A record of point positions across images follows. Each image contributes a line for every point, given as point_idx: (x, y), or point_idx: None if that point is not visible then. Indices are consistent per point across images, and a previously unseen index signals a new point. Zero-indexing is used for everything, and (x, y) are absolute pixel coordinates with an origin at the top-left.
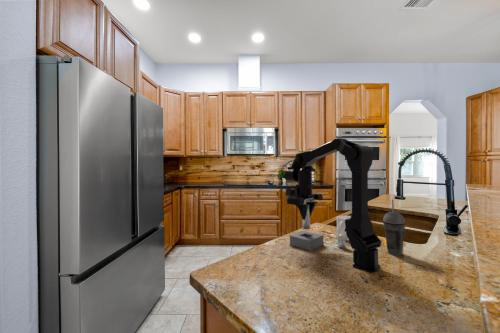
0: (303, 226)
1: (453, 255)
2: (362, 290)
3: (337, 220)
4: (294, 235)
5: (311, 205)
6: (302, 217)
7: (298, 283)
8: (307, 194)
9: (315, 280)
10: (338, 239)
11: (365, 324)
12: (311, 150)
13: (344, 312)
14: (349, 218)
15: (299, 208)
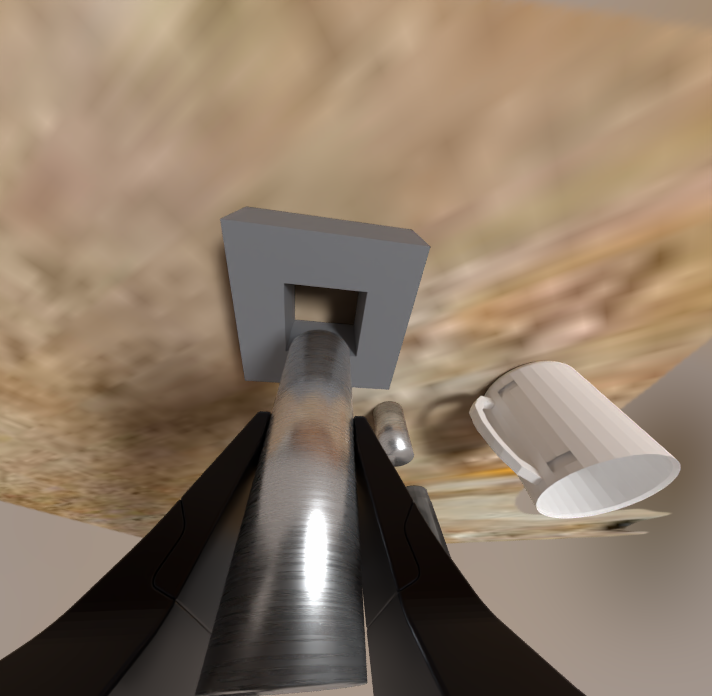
0: (287, 358)
1: (451, 534)
2: (154, 495)
3: (574, 451)
4: (255, 254)
5: (378, 657)
6: (245, 434)
7: (7, 423)
8: None
9: (77, 440)
10: (380, 435)
11: (64, 514)
12: None
13: (52, 497)
14: (647, 470)
15: (112, 593)
